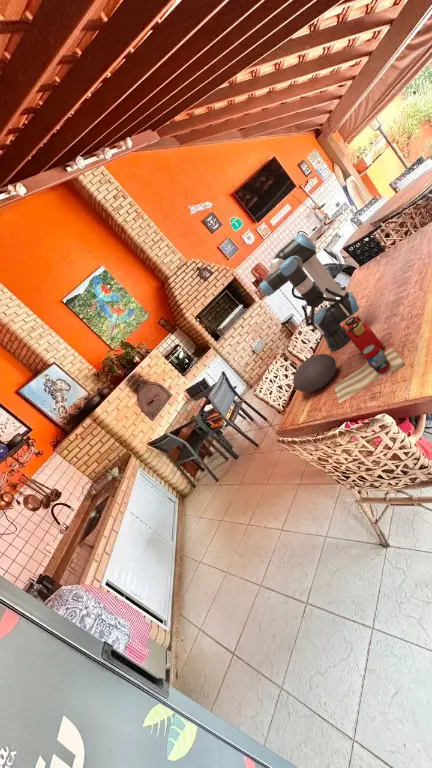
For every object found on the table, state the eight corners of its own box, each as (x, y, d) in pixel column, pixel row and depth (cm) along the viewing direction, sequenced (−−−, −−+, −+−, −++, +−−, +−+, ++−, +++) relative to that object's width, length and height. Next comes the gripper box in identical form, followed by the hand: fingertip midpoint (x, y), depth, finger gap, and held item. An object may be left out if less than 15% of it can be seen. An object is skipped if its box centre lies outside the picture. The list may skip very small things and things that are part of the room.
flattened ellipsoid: (339, 388, 188) (320, 366, 184) (299, 405, 205) (281, 386, 201) (346, 360, 205) (329, 340, 202) (308, 378, 222) (292, 360, 219)
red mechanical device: (386, 349, 183) (362, 318, 179) (367, 362, 187) (343, 332, 182) (378, 339, 197) (355, 310, 193) (361, 351, 201) (338, 322, 196)
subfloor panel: (335, 387, 191) (334, 385, 191) (394, 349, 178) (392, 347, 178) (340, 405, 175) (338, 403, 175) (405, 364, 162) (403, 362, 162)
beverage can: (381, 375, 167) (365, 355, 164) (374, 372, 173) (358, 352, 171) (393, 365, 166) (378, 344, 163) (386, 362, 173) (370, 342, 170)
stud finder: (369, 364, 182) (364, 357, 181) (384, 354, 179) (379, 347, 178) (371, 368, 177) (366, 362, 176) (387, 358, 174) (382, 351, 173)
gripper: (284, 309, 171) (313, 343, 177) (332, 271, 162) (361, 308, 167) (284, 304, 178) (312, 338, 183) (329, 268, 168) (357, 304, 174)
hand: (335, 324), depth 175 cm, fingers open, 13 cm apart
